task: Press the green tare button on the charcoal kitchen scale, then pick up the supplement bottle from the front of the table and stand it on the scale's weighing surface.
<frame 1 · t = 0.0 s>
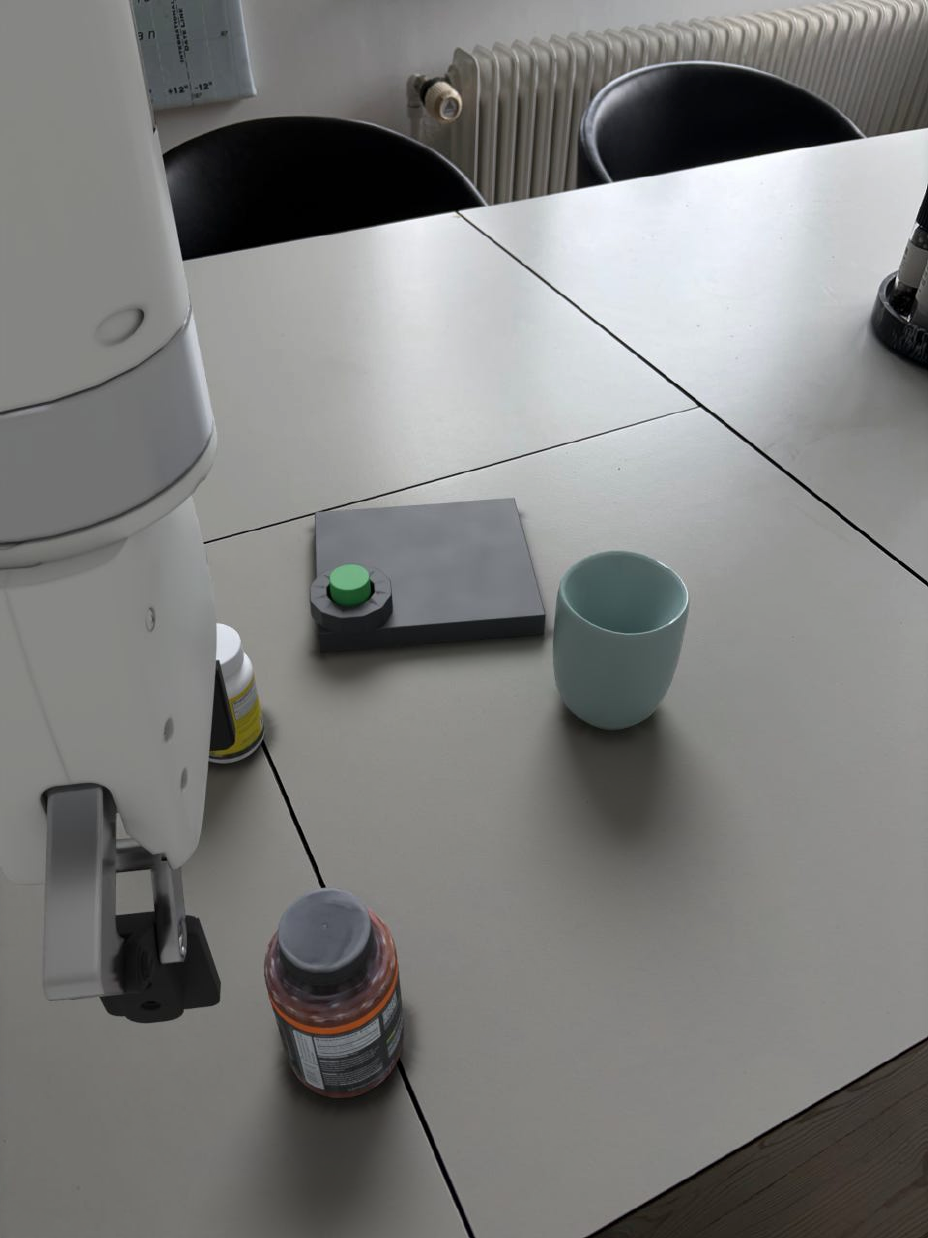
hand: (181, 860, 33), 22 cm above the table, tool pointing down, fingers open, 9 cm apart
scale: (424, 579, 76), on the table
cup: (607, 704, 67), on the table
supplement bottle 2: (229, 739, 65), on the table
wineglass: (124, 495, 84), on the table
tare button: (350, 585, 70), point 4 cm above the table, slide at 0.1 cm
supplement bottle: (346, 1044, 51), on the table
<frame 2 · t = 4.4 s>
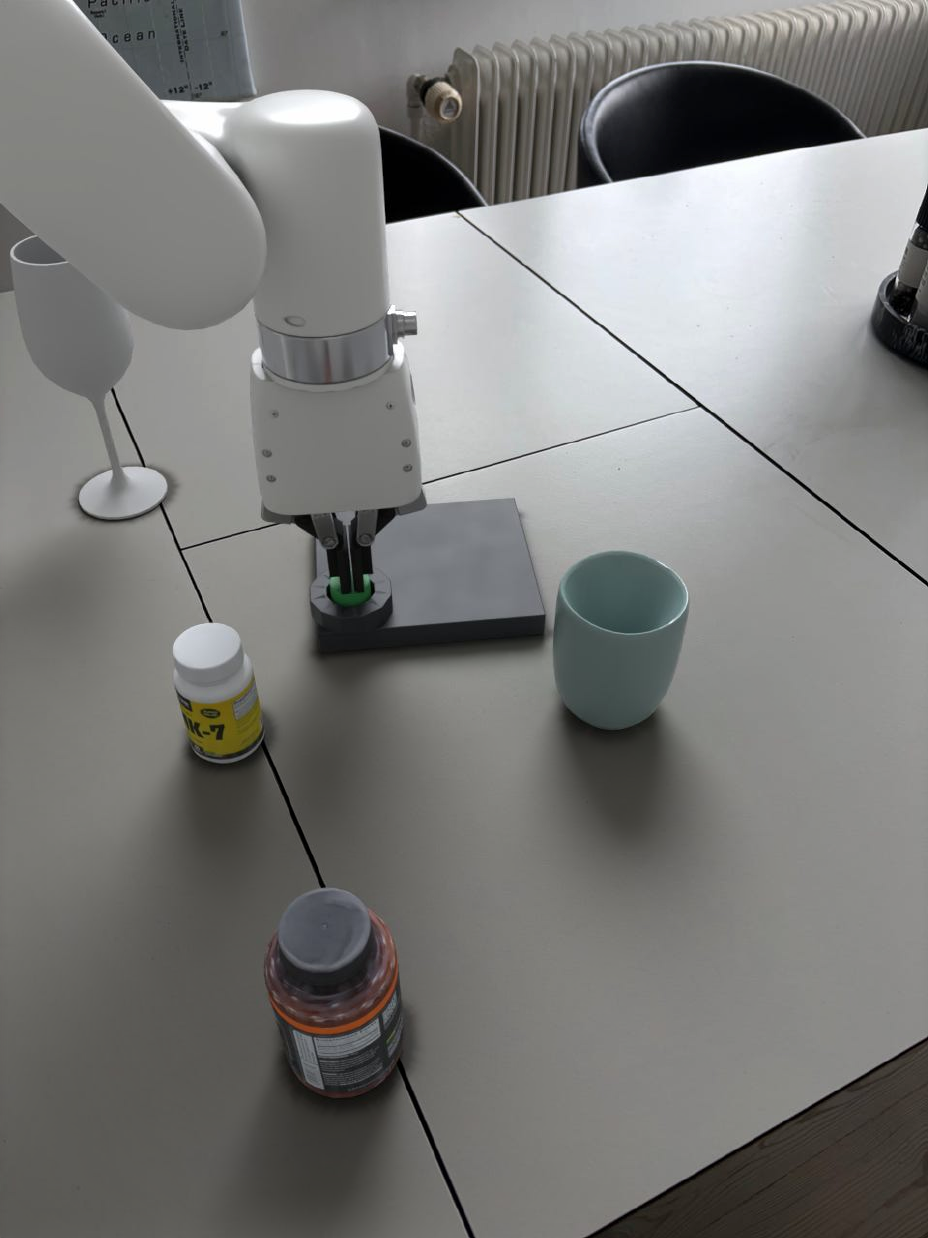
hand: (352, 579, 70), 4 cm above the table, tool pointing down, fingers closed
tare button: (350, 589, 70), point 4 cm above the table, slide at -0.3 cm, touching gripper
everything else where it was.
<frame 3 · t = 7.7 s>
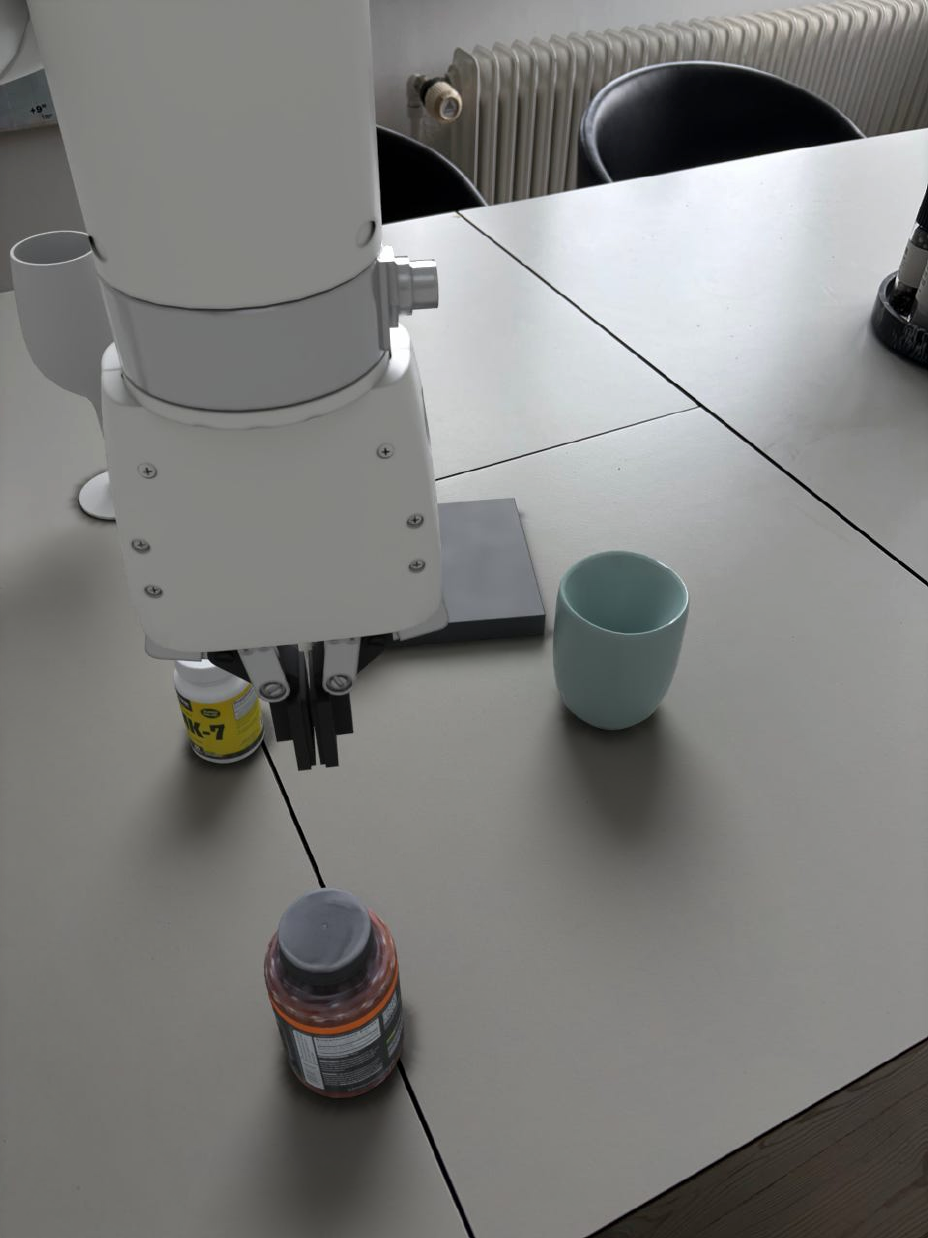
hand: (317, 740, 40), 19 cm above the table, tool pointing down, fingers closed
tare button: (350, 585, 70), point 4 cm above the table, slide at 0.1 cm
everything else where it was.
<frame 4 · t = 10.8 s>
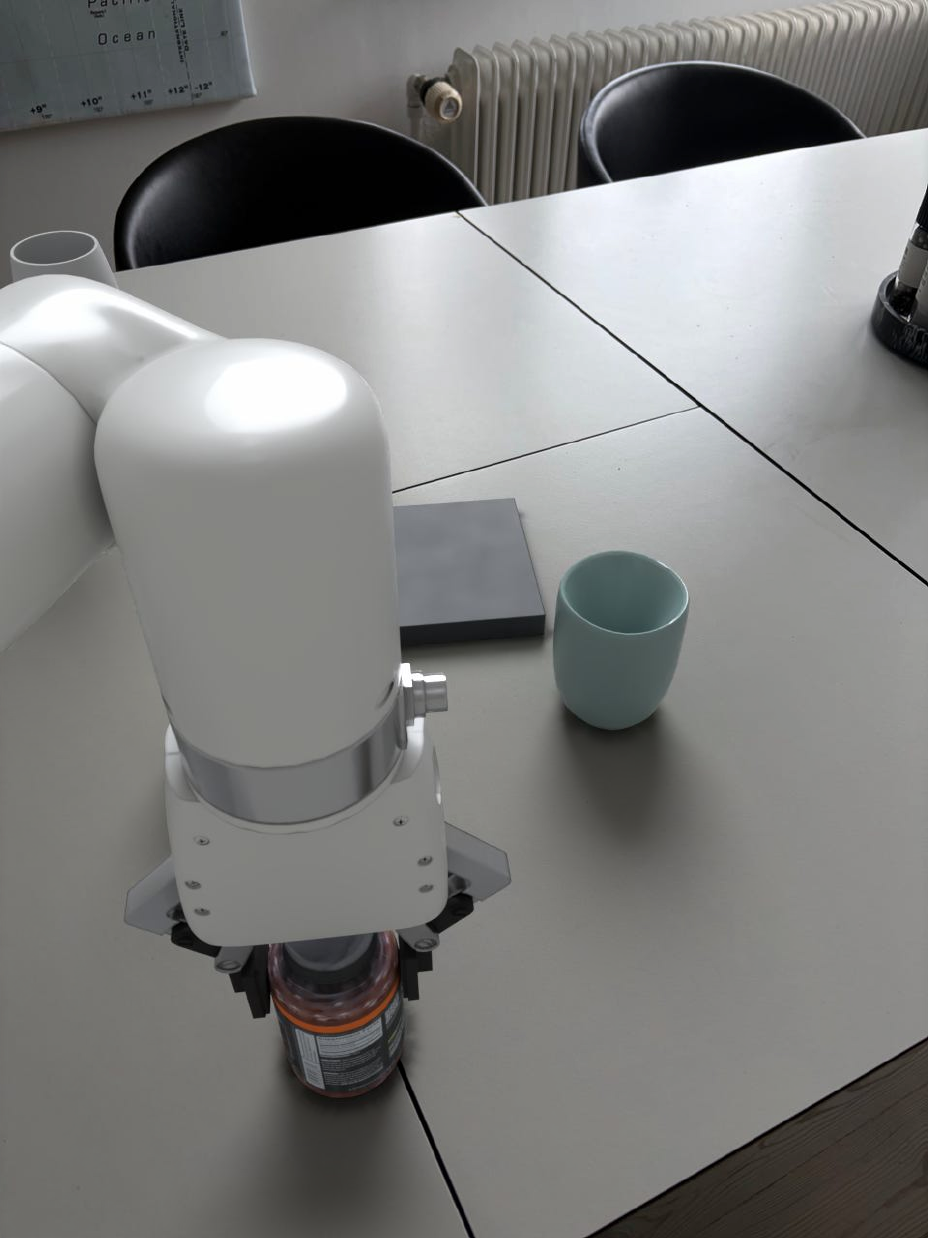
hand: (336, 976, 46), 7 cm above the table, tool pointing down, fingers closed on supplement bottle, 6 cm apart
supplement bottle: (346, 1044, 50), on the table, touching gripper
everything else where it was.
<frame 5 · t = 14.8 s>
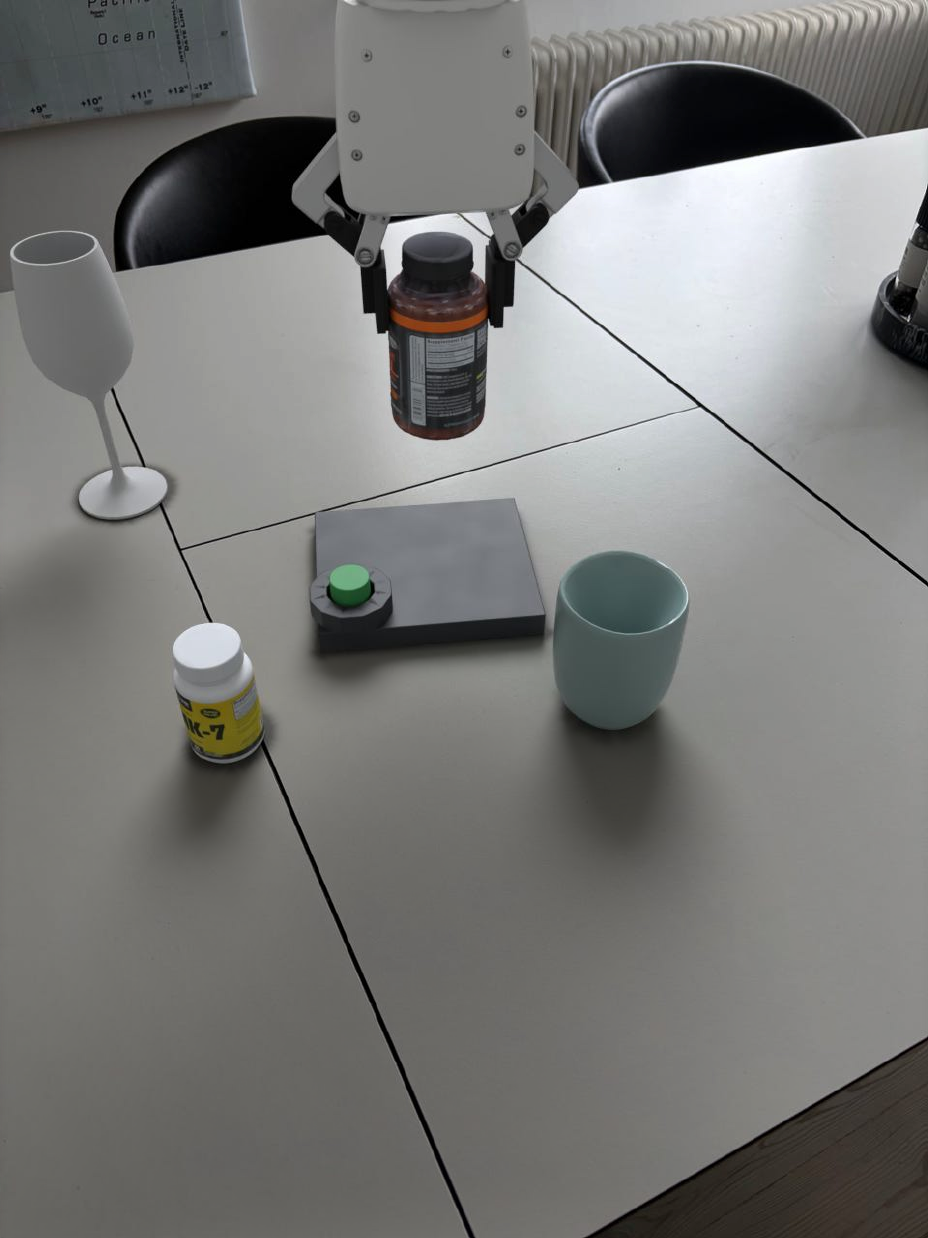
hand: (438, 317, 59), 23 cm above the table, tool pointing down, fingers closed on supplement bottle, 6 cm apart
supplement bottle: (438, 422, 64), point 15 cm above the table, touching gripper
everything else where it was.
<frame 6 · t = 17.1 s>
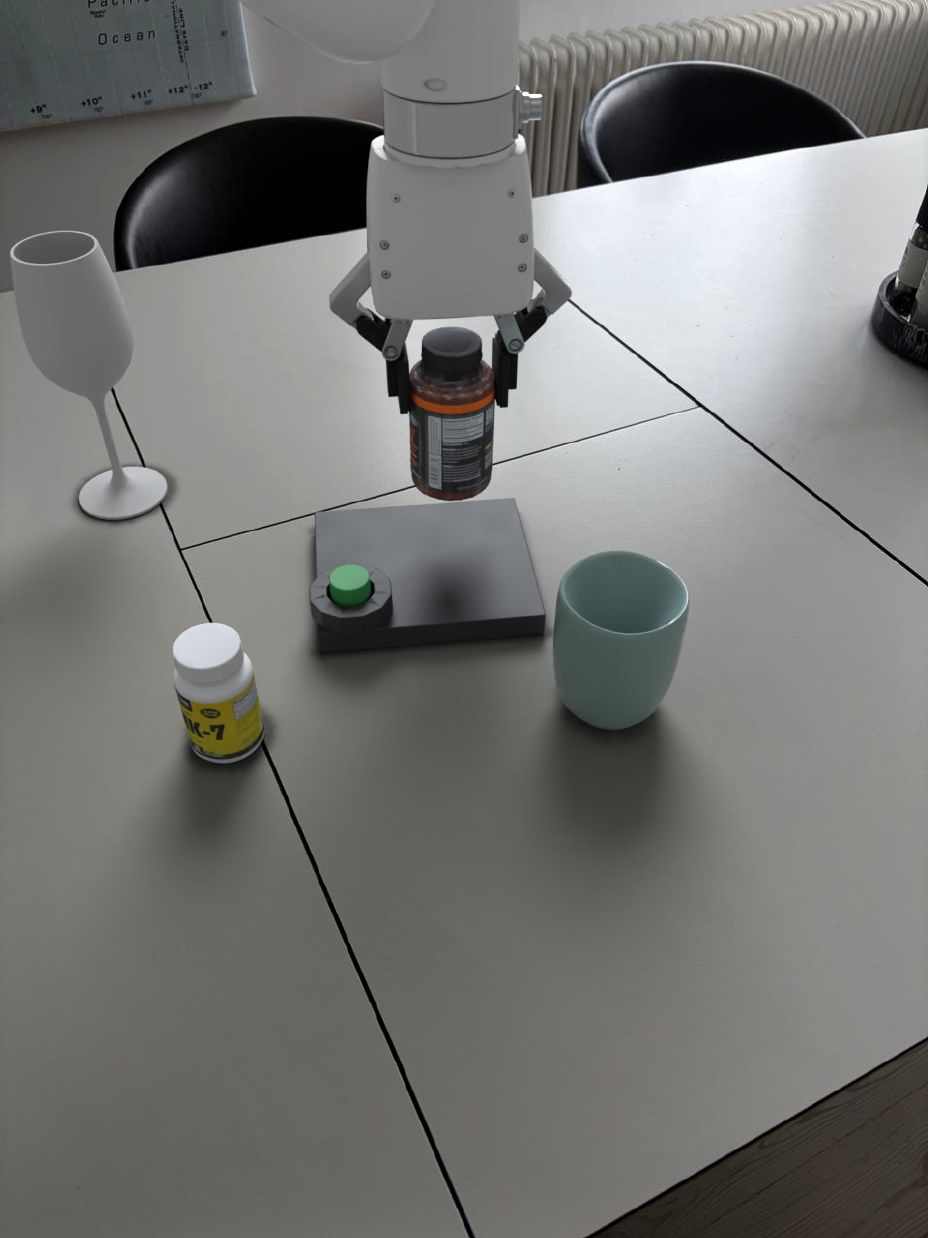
hand: (451, 398, 69), 14 cm above the table, tool pointing down, fingers closed on supplement bottle, 6 cm apart
supplement bottle: (451, 483, 74), point 7 cm above the table, touching gripper
everything else where it was.
when the fingers open (9 cm above the table, at t = 19.0 s): supplement bottle stays where it is, resting on scale.
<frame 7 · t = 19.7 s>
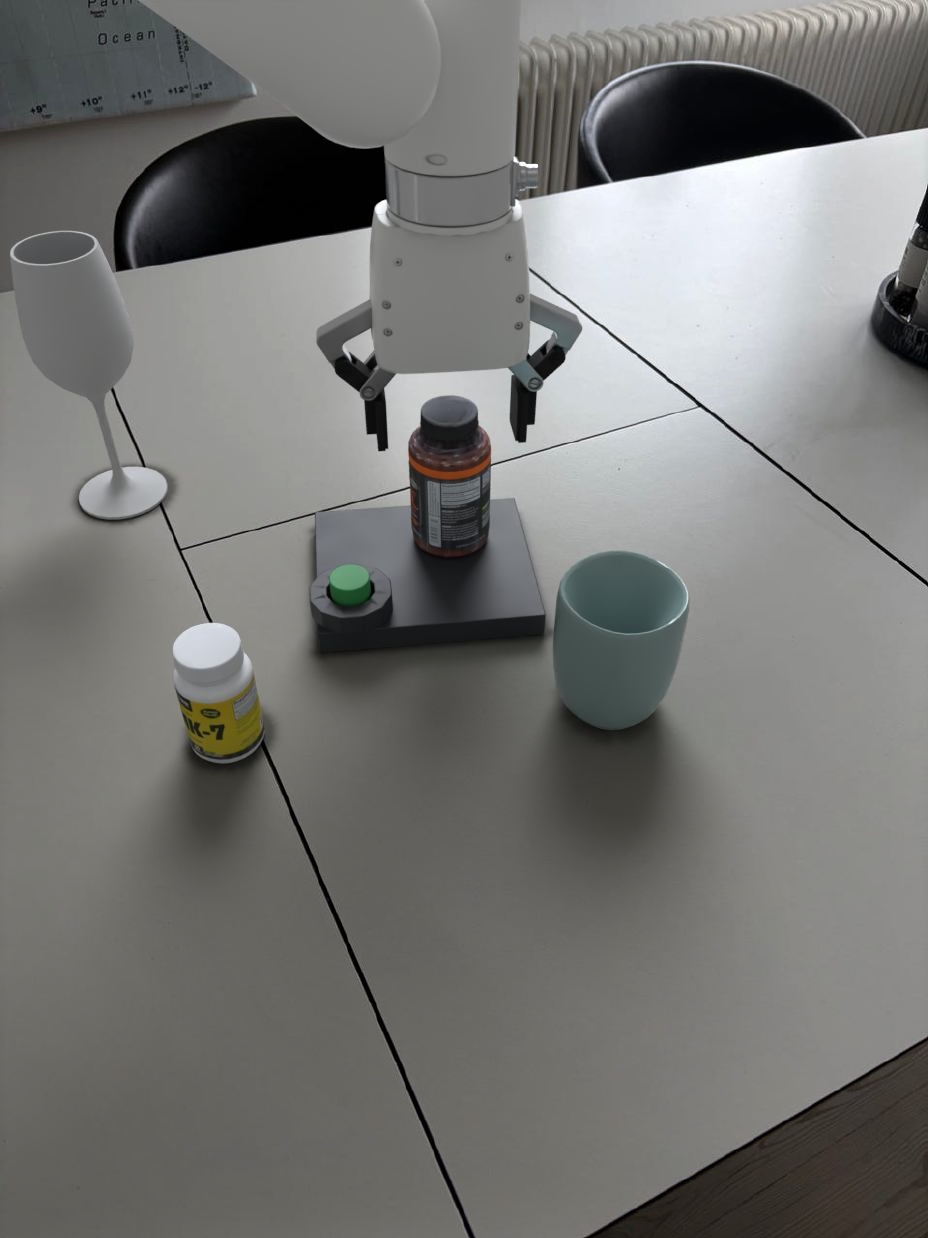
hand: (450, 436, 71), 11 cm above the table, tool pointing down, fingers open, 9 cm apart
supplement bottle: (450, 538, 77), point 2 cm above the table, touching scale
everything else where it was.
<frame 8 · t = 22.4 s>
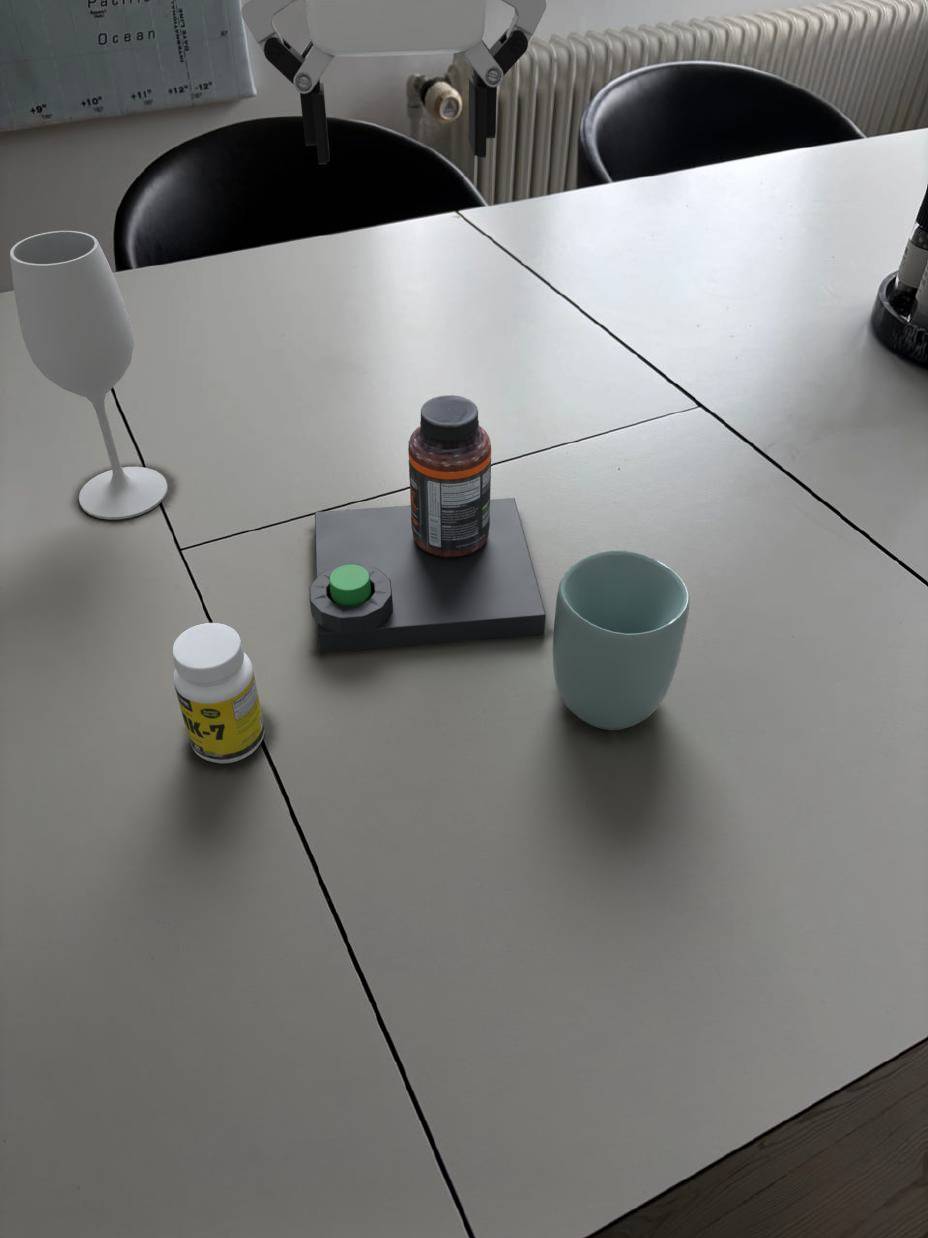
hand: (400, 153, 63), 28 cm above the table, tool pointing down, fingers open, 9 cm apart
nothing on the table moved.
at the end: tare button pushed in 0.9 cm at the most during the clip, back to where it started at the end; supplement bottle inside the target area on the scale (3.4 cm from its centre), point 1.7 cm above the scale's base; supplement bottle touching scale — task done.
